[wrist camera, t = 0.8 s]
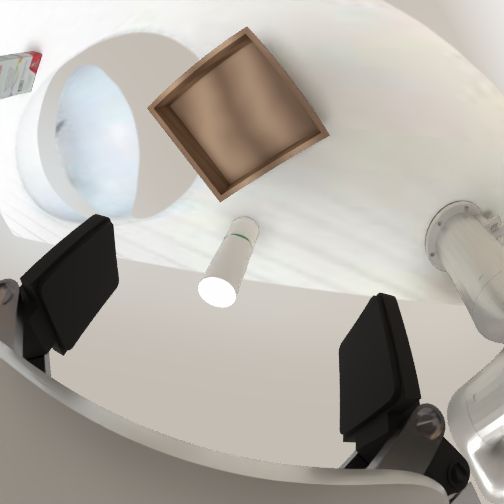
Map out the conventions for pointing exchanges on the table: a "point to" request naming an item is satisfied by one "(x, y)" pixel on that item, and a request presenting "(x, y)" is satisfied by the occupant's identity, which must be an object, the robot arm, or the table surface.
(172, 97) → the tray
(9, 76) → the ink box
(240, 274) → the tube
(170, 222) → the table surface
